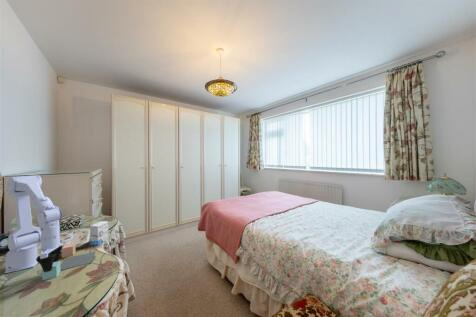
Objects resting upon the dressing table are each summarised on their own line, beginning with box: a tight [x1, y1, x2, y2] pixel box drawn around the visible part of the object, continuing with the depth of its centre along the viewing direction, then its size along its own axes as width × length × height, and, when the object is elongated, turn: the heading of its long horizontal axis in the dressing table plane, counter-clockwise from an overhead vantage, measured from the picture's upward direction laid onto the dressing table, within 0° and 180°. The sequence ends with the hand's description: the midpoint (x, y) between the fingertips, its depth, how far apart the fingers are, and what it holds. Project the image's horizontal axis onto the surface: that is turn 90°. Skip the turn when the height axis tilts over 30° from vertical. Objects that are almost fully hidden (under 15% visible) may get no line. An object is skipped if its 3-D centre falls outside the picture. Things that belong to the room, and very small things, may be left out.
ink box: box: [89, 220, 109, 246], centre depth 110 cm, size 9×5×12 cm, turn 179°
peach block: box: [61, 242, 77, 259], centre depth 96 cm, size 4×4×5 cm
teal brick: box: [41, 260, 62, 281], centre depth 79 cm, size 4×4×5 cm
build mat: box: [60, 251, 96, 271], centre depth 90 cm, size 12×12×1 cm
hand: (51, 266), depth 79 cm, fingers open, 7 cm apart
